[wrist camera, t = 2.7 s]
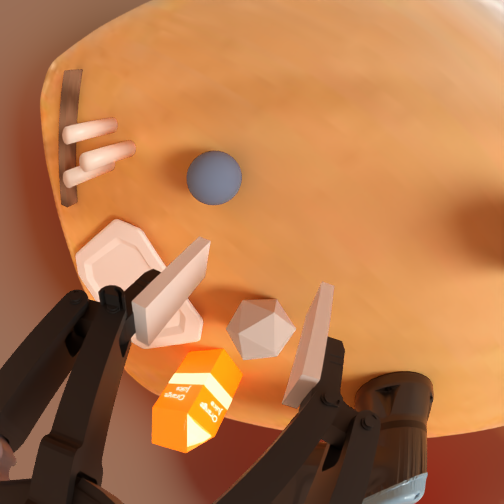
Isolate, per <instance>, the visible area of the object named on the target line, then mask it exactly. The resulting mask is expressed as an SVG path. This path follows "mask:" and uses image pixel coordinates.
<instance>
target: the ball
mask: <svg viewBox="0 0 504 504" xmlns="http://www.w3.org/2000/svg"><path fill="white" fill-rule="evenodd" d="M241 180H242V175H241V170H240V167H239V165H238V163H237V162H236V161H235V159H234V158H233V157H231V156H230V155H228V154H226V153H224V152H220V151H209V152H205V153H203V154H201V155H199V156H198V157H197V158H195V159H194V161H193V162H192V163H191V165H190V167H189V169H188V172H187V185H188V188H189V190H190V192H191V194H192V195H193V196H194V197H195V198H196V199H197V200H198V201H200V202H202V203H204V204H208V205H220V204H223V203H225V202H227V201H229V200H231V199H232V198H233V197H234V196H235V195H236V193H237V192H238V190H239V188H240V185H241Z"/></svg>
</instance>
